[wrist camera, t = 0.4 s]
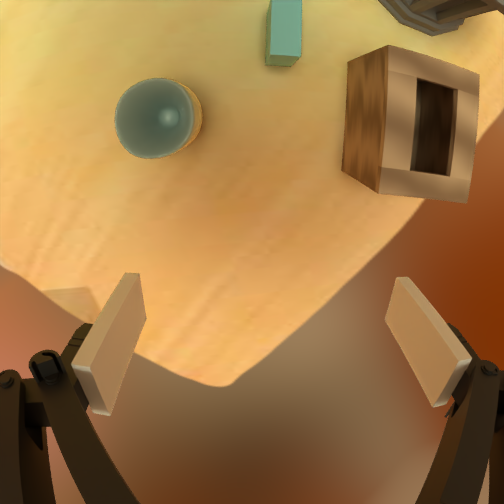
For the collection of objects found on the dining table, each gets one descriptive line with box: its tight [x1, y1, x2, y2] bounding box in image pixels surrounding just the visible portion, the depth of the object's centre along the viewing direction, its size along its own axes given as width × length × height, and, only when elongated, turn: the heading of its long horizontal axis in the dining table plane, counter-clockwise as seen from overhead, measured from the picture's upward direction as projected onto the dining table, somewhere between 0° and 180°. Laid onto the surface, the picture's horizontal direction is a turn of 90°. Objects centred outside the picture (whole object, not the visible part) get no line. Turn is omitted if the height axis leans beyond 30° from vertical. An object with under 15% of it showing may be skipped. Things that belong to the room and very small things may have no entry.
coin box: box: [342, 45, 479, 203], centre depth 30 cm, size 14×11×12 cm
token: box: [265, 0, 302, 67], centre depth 28 cm, size 7×3×7 cm, turn 178°
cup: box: [115, 78, 203, 159], centre depth 31 cm, size 8×8×10 cm
